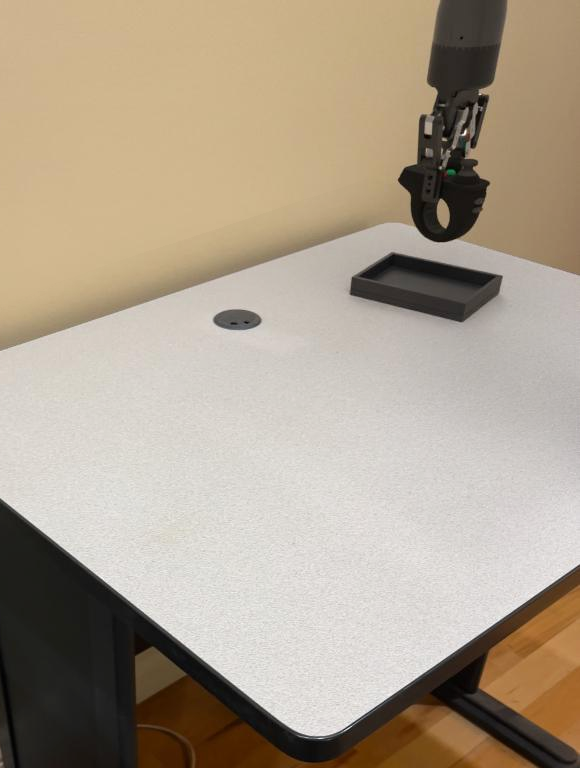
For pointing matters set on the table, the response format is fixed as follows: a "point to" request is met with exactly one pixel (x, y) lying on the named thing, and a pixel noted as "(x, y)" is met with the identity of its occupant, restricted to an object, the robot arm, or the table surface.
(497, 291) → the dock
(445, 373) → the table surface
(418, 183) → the controller
